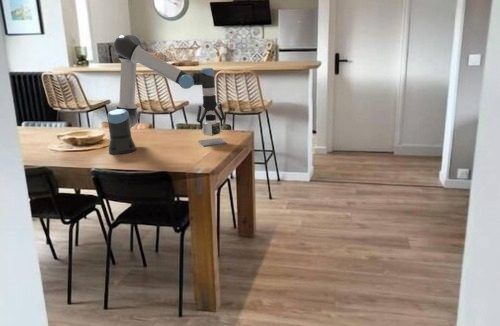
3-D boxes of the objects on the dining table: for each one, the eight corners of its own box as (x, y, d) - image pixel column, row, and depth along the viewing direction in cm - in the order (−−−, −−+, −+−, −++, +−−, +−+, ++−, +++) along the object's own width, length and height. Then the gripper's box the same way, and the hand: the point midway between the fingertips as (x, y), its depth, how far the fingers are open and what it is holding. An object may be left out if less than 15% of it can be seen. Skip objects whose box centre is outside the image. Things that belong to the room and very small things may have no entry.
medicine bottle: (212, 136, 265) (211, 115, 262) (203, 135, 269) (201, 115, 266) (220, 133, 270) (219, 113, 267) (211, 132, 274) (210, 113, 271)
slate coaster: (203, 146, 263) (203, 145, 262) (198, 141, 275) (198, 140, 275) (226, 143, 267) (226, 142, 267) (220, 139, 280) (220, 137, 279)
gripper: (191, 97, 256) (194, 135, 263) (229, 94, 263) (231, 131, 269) (189, 95, 263) (192, 133, 269) (225, 92, 270) (227, 129, 276)
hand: (211, 132), depth 269 cm, fingers closed on medicine bottle, 10 cm apart
